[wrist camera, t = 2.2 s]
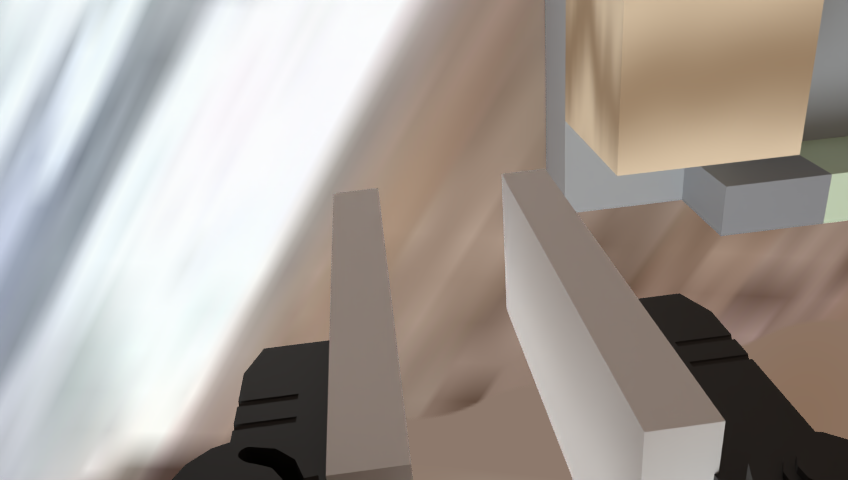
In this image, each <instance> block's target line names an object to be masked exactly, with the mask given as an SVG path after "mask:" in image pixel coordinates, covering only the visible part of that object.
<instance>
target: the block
mask: <svg viewBox="0 0 848 480" xmlns="http://www.w3.org/2000/svg"><path fill="white" fill-rule="evenodd" d="M823 4H824V0H566V52H565V121H566V122H567V123H568V124H569V125H570V126H571V128H572V129H573V130H574V131H575V132H576V133H577V134H578V135H579V136H580V137H581V138H582V139H583V140H584V141H585V142H586V143H587V144H588V146H589V147H590V148H591V149H592V150H593V151H594V152H595V153H596V154H597V155H598V156H599V157H600V158H601V159H602V160H603V161H604V162H605V164H606V165H607V166H608V167H609V168H610V169H611V170H612V171H613V172H614V173H615V174H616V175H617V176H622V175H630V174H639V173H647V172H656V171H664V170H673V169H681V168H690V167H699V166H707V165H716V164H724V163H733V162H741V161H750V160H758V159H767V158H776V157H784V156H793V155H800V150H801V144H802V138H803V131H804V125H805V119H806V112H807V106H808V99H809V93H810V87H811V80H812V74H813V68H814V61H815V55H816V49H817V42H818V36H819V29H820V23H821V17H822V10H823Z"/></svg>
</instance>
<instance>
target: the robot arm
mask: <svg viewBox="0 0 848 480" xmlns="http://www.w3.org/2000/svg"><path fill="white" fill-rule="evenodd" d="M502 195H503V222H504V248H505V275H506V302H507V311H508V313H509V316H510V319H511V321H512V324H513V326H514V329H515V331H516V334H517V337H518V339H519V342H520V344H521V347H522V349H523V352H524V355H525V357H526V360H527V362H528V365H529V367H530V370H531V373H532V375H533V378H534V380H535V383H536V386H537V388H538V391H539V393H540V396H541V398H542V401H543V404H544V406H545V409H546V411H547V414H548V416H549V419H550V421H551V424H552V427H553V429H554V432H555V434H556V437H557V440H558V442H559V445H560V447H561V450H562V452H563V455H564V457H565V460H566V463H567V465H568V468H569V470H570V473H571V475H572V478H573V480H848V440H847V439H844V438H841V437H837V436H834V435H830V434H827V433H824V432H815V431H814V430H813V429H812V428H811V426H810V425H809V424H808V423H807V422H806V421H805V419H804V418H803V417H802V416H801V415H800V414H799V413H798V412H797V410H796V409H795V408H794V407H793V406H792V405H791V403H790V402H789V401H788V400H787V399H786V398H785V396H784V395H783V394H782V393H781V392H780V391H779V389H778V388H777V387H776V386H775V385H774V384H773V383H772V381H771V380H770V379H769V378H768V377H767V376H766V374H765V373H764V372H763V371H762V370H761V369H760V367H759V366H758V365H757V364H756V363H755V362H754V361H753V360H752V359H749V358H748V354H747V353H746V351H745V350H744V349H743V348H742V347H741V345H740V344H739V343H738V342H737V341H736V340H735V339H733V340H732V338H731V334H730V333H729V332H728V330H727V329H726V328H725V327H724V326H723V325H722V324H721V322H720V321H719V320H718V319H717V318H716V317H715V315H714V314H713V313H712V312H711V311H709V310H708V309H706V308H704V307H702V306H701V305H699V304H697V303H695V302H693V301H692V300H690V299H688V298H686V297H685V296H683V295H681V294H672V295H664V296H656V297H648V298H640V299H638V298H637V297H636V295H635V294H634V292H633V291H632V290H631V288H630V287H629V285H628V284H627V283H626V281H625V280H624V279H623V277H622V276H621V274H620V273H619V272H618V270H617V269H616V267H615V266H614V265H613V263H612V262H611V260H610V259H609V258H608V256H607V255H606V253H605V252H604V251H603V249H602V248H601V246H600V245H599V244H598V242H597V241H596V239H595V238H594V237H593V235H592V234H591V232H590V231H589V230H588V228H587V227H586V225H585V224H584V223H583V221H582V220H581V218H580V217H579V216H578V214H577V213H576V211H575V210H574V209H573V207H572V206H571V204H570V203H569V202H568V200H567V199H566V197H565V196H564V195H563V193H562V192H561V190H560V189H559V188H558V186H557V185H556V183H555V182H554V181H553V179H552V178H551V176H550V175H549V174H548V172H547V171H546V169H540V170H531V171H523V172H514V173H505V174H502ZM238 402H239V407H237V411H236V416H235V421H234V431H232V436H231V441H230V443H227V444H224V445H221V446H218V447H215V448H212V449H210V450H208V451H207V452H205V453H204V454H202V455H200V456H199V457H197V458H196V459H194V460H193V461H191V462H189V463H188V464H186V465H185V466H184V467H183V468H182V469H181V470H180V471H179V473H178V474H177V475H176V476H175V477H174V478H173V479H172V480H413V476H412V468H411V460H410V451H409V444H408V434H407V426H406V418H405V409H404V401H403V392H402V384H401V376H400V367H399V359H398V351H397V342H396V334H395V325H394V317H393V309H392V300H391V292H390V284H389V275H388V267H387V259H386V251H385V242H384V234H383V226H382V217H381V209H380V201H379V192H378V188H376V189H367V190H358V191H350V192H341V193H333V229H332V266H331V303H330V340H329V341H321V342H313V343H305V344H297V345H289V346H282V347H274V348H266V349H264V350H263V351H262V352H261V353H260V355H259V356H258V357H257V358H256V360H255V361H254V362H253V363H252V365H251V366H250V367H249V368H248V370H247V371H246V372H245V373H244V376H243V381H242V386H241V391H240V396H239V401H238Z"/></svg>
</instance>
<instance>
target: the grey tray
mask: <svg viewBox="0 0 848 480" xmlns="http://www.w3.org/2000/svg"><path fill="white" fill-rule="evenodd" d="M545 49H546V171H547V172H548V174H549V175H550V176H551V178H552V179H553V181H554V182H555V183H556V185H557V186H558V188H559V189H560V190H561V192H562V193H563V195H564V196H565V197H566V199H567V200H568V202H569V203H570V204H571V206H572V207H573V209H574V210H575V211H576V212H584V211H592V210H601V209H609V208H618V207H626V206H634V205H643V204H651V203H659V202H668V201H676V200H683V201H684V202H685V203H686V204H687V205H688V206H689V207H690V208H691V209H692V210H693V211H695V212H696V213H697V214H698V215H699V216H700V217H701V218H702V219H703V220H704V221H705V222H706V223H707V224H709V225H710V226H711V227H712V228H713V229H714V230H715V231H716V232H717V233H718V234H719V235H720V236H725V235H733V234H741V233H749V232H757V231H766V230H774V229H782V228H790V227H798V226H806V225H815V224H823V223H831V222H839V221H847V220H848V0H824V4H823V10H822V17H821V23H820V29H819V36H818V42H817V49H816V55H815V61H814V68H813V74H812V80H811V87H810V93H809V99H808V106H807V112H806V119H805V125H804V131H803V138H802V144H801V150H800V155H793V156H784V157H776V158H767V159H758V160H750V161H741V162H733V163H724V164H716V165H707V166H699V167H690V168H681V169H673V170H664V171H656V172H647V173H639V174H630V175H622V176H617V175H616V174H615V173H614V172H613V171H612V170H611V169H610V168H609V167H608V166H607V165H606V164H605V162H604V161H603V160H602V159H601V158H600V157H599V156H598V155H597V154H596V153H595V152H594V151H593V150H592V149H591V148H590V147H589V146H588V144H587V143H586V142H585V141H584V140H583V139H582V138H581V137H580V136H579V135H578V134H577V133H576V132H575V131H574V130H573V129H572V128H571V126H570V125H569V124H568V123H567V122H566V121H565V52H566V0H545Z"/></svg>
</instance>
